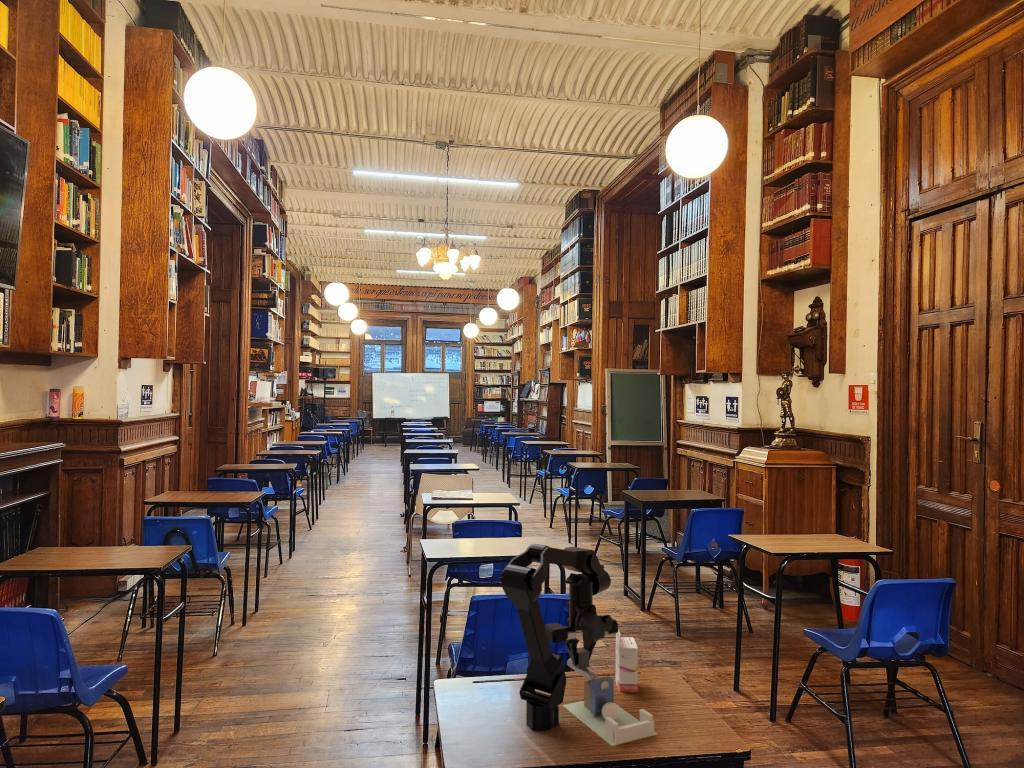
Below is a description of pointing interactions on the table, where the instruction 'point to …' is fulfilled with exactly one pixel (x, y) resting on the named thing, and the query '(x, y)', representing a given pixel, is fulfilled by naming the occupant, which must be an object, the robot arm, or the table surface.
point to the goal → (630, 729)
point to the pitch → (597, 722)
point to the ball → (610, 711)
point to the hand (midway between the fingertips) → (580, 663)
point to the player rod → (594, 682)
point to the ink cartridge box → (626, 664)
